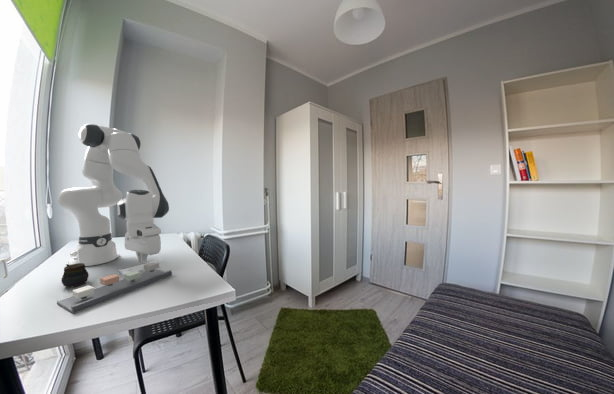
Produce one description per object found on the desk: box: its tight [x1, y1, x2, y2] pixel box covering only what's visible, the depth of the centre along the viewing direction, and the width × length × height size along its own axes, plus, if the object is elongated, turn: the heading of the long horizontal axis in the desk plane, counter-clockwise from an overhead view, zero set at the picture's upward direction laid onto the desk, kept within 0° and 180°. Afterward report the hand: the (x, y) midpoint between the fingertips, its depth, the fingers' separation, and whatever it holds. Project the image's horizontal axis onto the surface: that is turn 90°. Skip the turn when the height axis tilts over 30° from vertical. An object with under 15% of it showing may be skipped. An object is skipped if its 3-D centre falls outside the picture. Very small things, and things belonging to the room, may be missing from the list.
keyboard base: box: [56, 269, 173, 315], centre depth 80 cm, size 13×30×2 cm, turn 155°
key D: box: [123, 271, 141, 282], centre depth 83 cm, size 4×4×3 cm
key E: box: [99, 273, 120, 286], centre depth 77 cm, size 4×4×3 cm
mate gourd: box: [61, 263, 90, 288], centre depth 83 cm, size 7×8×10 cm
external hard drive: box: [118, 261, 152, 277], centre depth 98 cm, size 2×8×12 cm
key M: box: [144, 261, 160, 272], centre depth 90 cm, size 4×4×3 cm
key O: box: [72, 284, 95, 299], centre depth 71 cm, size 4×4×3 cm
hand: (142, 262), depth 86 cm, fingers closed
